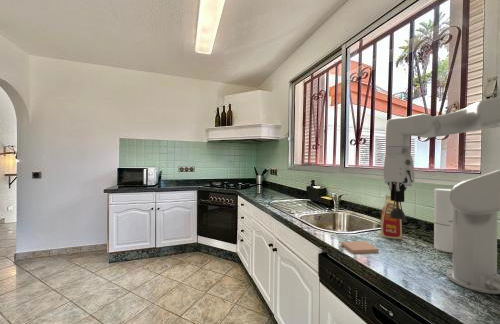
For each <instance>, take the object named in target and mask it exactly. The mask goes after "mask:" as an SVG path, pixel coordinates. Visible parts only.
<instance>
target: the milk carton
mask: <svg viewBox="0 0 500 324" xmlns="http://www.w3.org/2000/svg"><path fill="white" fill-rule="evenodd" d="M393 206H394V201H391V195H387V194H385V201H384V204H383V208H382V211H381V216H380V235H381V237H382V238H387V239H388V238H389V239H395V240H396V239H397V240H402V239H403V228H402V227H403V224H402V219H395V218H391V217H390V212H391V211H392V210H393ZM394 208H396V202H395V206H394ZM399 208H400V209H401V207H400V202H399Z"/></svg>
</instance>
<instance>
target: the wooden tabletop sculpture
mask: <svg viewBox="0 0 500 324" xmlns="http://www.w3.org/2000/svg"><path fill="white" fill-rule="evenodd" d="M394 184H395V191H397V190H396V188H397V183H396V182H395V183H394ZM394 206H395V199H394ZM394 206H393V210H392V211H391V212H390V217H391V218H395V219H401V220H405V219H406V215H405V212H404V211H403V207H402V202H400V208H399V202H396V208H394Z"/></svg>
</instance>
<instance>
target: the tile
mask: <svg viewBox="0 0 500 324" xmlns="http://www.w3.org/2000/svg"><path fill="white" fill-rule="evenodd" d="M340 244H341V246H342V245H343V246H344V248H345V249H346V248H347V249H348V250H347V249H346V250H347V251H349V252H350V251H351V252H352V253H355V254H373V253H374V254H376V253H377V254H378V253H379V248H377V247H375V246H374V245H372V244H370V243H369V242H367V241H366V240H360V241H357V240H356V241H341V243H340ZM343 246H342V247H343ZM351 252H350V253H351ZM352 253H351V254H352Z"/></svg>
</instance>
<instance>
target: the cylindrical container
mask: <svg viewBox="0 0 500 324" xmlns="http://www.w3.org/2000/svg"><path fill="white" fill-rule="evenodd" d="M433 189H434V191H433V192H434V193H433V194H434V196H433V198H434V201H433V203H434V204H433V206H434V207H433V209H434V212H433V213H434V215H433V216H434V217H433V220H434V221H433V222H434V224H433V227H434V228H433V239H434V241H433V247H434V249H436V250H438V251H441V252H445V253H451V254H453V205H452V203H451V202H450V198H449V195H450V191H451V189H452V188H433Z"/></svg>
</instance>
